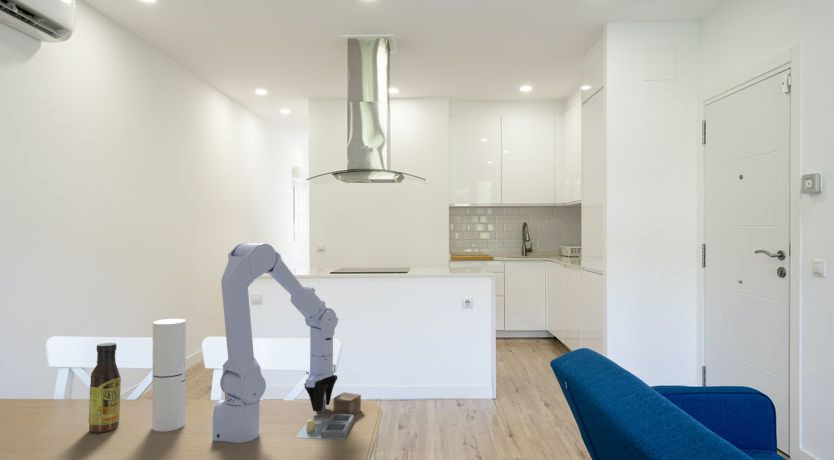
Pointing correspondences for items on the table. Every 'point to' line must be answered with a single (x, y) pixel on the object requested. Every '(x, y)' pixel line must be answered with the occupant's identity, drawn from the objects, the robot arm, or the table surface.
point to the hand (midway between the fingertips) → (321, 407)
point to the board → (327, 427)
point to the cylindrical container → (168, 374)
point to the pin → (323, 405)
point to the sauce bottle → (105, 391)
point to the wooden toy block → (347, 403)
